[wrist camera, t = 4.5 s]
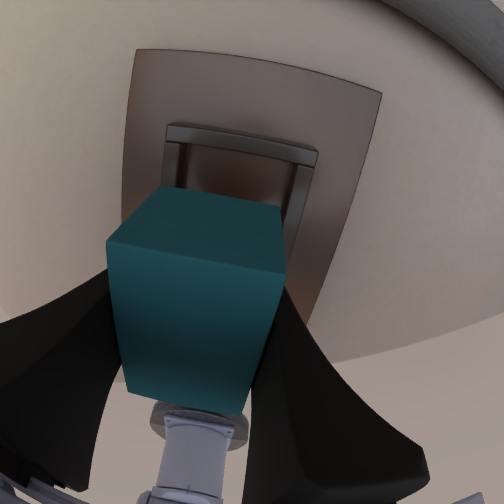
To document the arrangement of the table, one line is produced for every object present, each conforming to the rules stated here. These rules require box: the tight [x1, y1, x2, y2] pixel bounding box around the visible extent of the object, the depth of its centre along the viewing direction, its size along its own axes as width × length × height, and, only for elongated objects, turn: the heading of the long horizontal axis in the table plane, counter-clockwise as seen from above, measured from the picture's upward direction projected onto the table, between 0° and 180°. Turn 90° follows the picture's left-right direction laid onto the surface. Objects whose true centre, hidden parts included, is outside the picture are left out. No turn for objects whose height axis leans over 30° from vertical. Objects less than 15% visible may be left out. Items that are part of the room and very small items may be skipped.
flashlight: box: [381, 0, 504, 92], centre depth 8 cm, size 5×28×5 cm
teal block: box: [106, 185, 287, 415], centre depth 9 cm, size 6×4×4 cm, turn 169°
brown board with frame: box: [122, 49, 382, 325], centre depth 15 cm, size 16×12×2 cm
